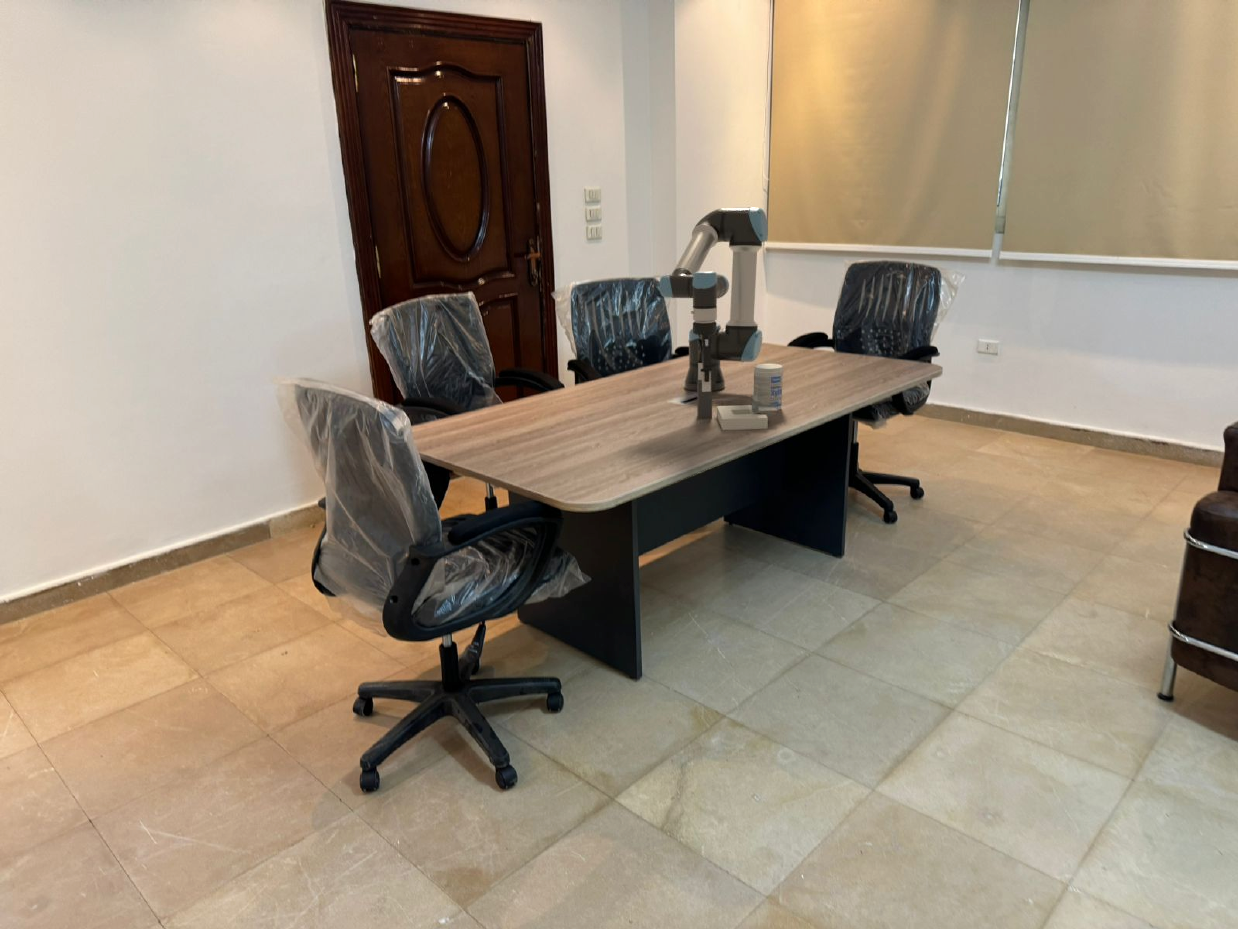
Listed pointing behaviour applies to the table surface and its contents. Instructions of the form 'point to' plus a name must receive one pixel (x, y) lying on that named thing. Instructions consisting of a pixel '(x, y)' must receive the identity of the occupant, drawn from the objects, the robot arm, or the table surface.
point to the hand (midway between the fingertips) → (704, 386)
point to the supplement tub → (768, 384)
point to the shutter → (762, 407)
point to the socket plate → (741, 418)
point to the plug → (704, 402)
